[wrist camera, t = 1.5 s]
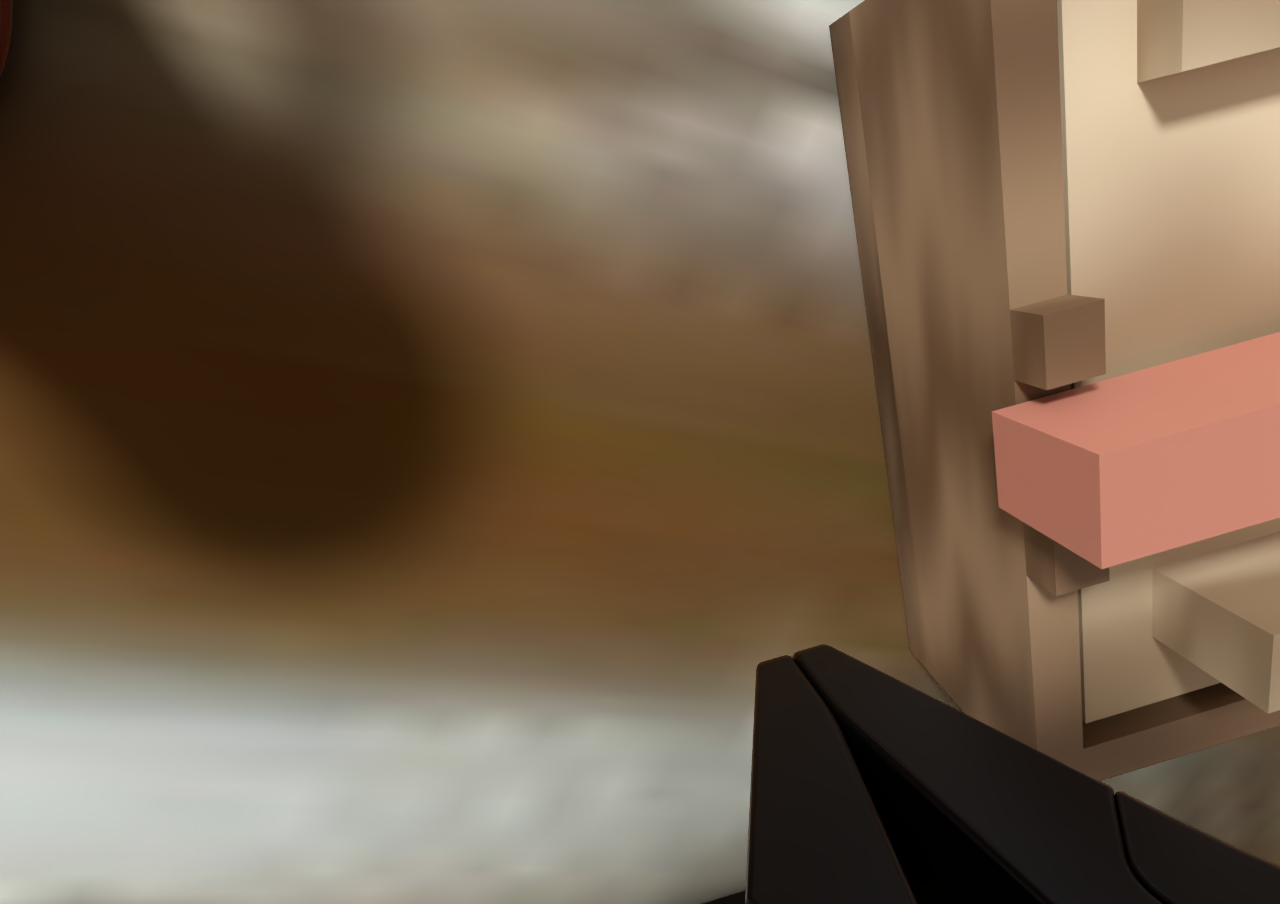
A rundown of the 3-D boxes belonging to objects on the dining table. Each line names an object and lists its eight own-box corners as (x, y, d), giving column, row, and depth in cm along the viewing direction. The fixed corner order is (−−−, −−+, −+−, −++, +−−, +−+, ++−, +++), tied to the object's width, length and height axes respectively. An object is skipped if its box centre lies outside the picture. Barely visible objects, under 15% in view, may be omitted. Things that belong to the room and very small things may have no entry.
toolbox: (1232, 556, 20) (1516, 690, 15) (910, 651, 20) (1067, 829, 14) (1263, -80, 15) (1722, -277, 9) (829, 25, 15) (1023, -113, 9)
